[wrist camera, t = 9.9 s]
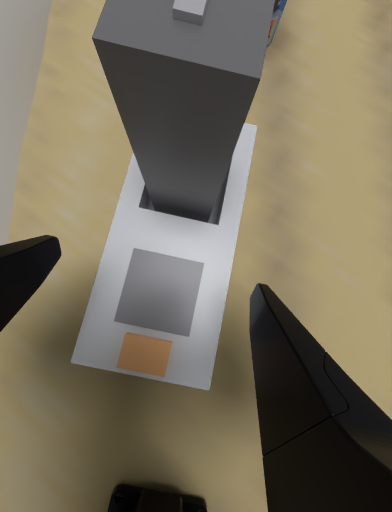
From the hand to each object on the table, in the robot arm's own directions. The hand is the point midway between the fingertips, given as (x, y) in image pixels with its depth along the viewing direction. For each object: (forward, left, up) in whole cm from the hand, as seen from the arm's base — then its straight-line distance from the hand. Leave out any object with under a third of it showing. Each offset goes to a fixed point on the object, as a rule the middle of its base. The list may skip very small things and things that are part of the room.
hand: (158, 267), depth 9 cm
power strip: (+3, 0, -7) cm, 8 cm away
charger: (+7, 0, -7) cm, 10 cm away
